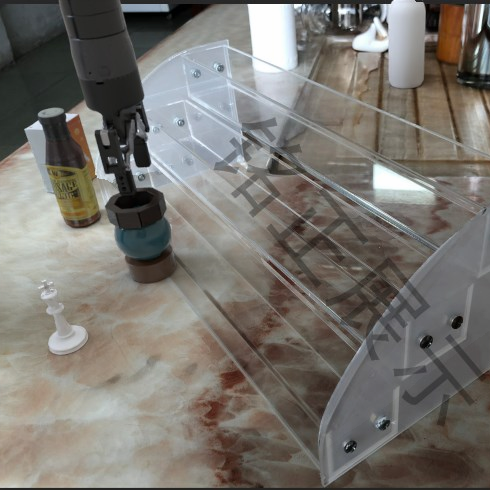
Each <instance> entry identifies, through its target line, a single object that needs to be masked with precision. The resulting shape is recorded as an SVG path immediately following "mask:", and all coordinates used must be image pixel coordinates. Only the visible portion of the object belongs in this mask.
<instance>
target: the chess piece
mask: <svg viewBox="0 0 490 490" xmlns="http://www.w3.org/2000/svg"><path fill="white" fill-rule="evenodd" d="M41 284H42V285H40V286H38V287H37V288H38V291H39V292H40V293H41V294H40V299H41V300H42V301H43V302H44V303H45V304H46V305H47V307H46V314H47V315H49V316H53V319H54V323H55V327H56V328H55V329H56V331H54V332H53V333H52V334H51V335H50V337H49V338H48V342H47V345H48V350H49V351H50V353H52V354H54V355H57V356H59V355H60V356H64V355H67V354H68V355H69V354H72V353H75V352H76V351H78V350H80V349H81V348H82V347H84V346H85V344H86V343H87V341H88V339H89V333H88V331H87V330H86V328H84V327H83V326H81V325H76V324H73V325H72V324H71V325H70V324H69V323H68V321H67V319H66V317H65V315H64V314H63V313H62V312H63V311H64V309H65V305H64V303H62V302H59V291H58V290H57V289H56V288H52V287H54V286H55V285H54V282H53V281H49V282H47V280H46V279H43V280H41Z"/></svg>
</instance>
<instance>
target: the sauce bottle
mask: <svg viewBox="0 0 490 490" xmlns="http://www.w3.org/2000/svg"><path fill="white" fill-rule="evenodd" d="M65 113H66V111H65V109H64V108H61V107H49V108H46V109H43V110H40V111H39V112H38V113H37V119H38V120H39V123H40V124H41V125H42V128H43V131H44V134H45V139H46V158H45V165H46V168H47V172H48V174H49V177H50V181H51V184H52V187H53V190H54V193H53V194H54V195H55V196H54V197H55V199H56V202H57V205H58V209H59V211H60V214H61V216H62V218H63V221H64V223H65V224H66V225H67V226H69V227H73V228H77V227H79V228H80V227H87V226H89V225H92V224H93V223H94V222H96V221H97V220H98V219H99V218H100V215H101V210H100V206H99V205H100V204H99V201H98V197H97V194H96V190H95V187H94V184H93V181H92V180H93V179H92V180H91V176H90V173H89V169H88V166H87V162H86V160H85V157H84V154H83V150H82V148H81V146H80V145H79V144H78V143H77V142H76V141H75V140H74V139H73V138H72V137H71V135H70V134H71V133H70V132H69V128H68V125H67V122H66V114H65Z"/></svg>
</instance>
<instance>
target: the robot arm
mask: <svg viewBox="0 0 490 490" xmlns="http://www.w3.org/2000/svg"><path fill="white" fill-rule="evenodd" d="M58 5H59V9H60V13H61V15H62V19H63V22H64V26H65V29H66V33H67V36H68V41H69V46H70V53H71V59H72V61H73V65H74V68H75V71H76V74H77V78H78V82H79V85H80V89H81V91H82V95H83V100H84V102H85V105H86V107H87V108H88V109H89V110H91V111H93V112H96V113H99V114H100V116H102V117H101V118H102V129H95V130H94V138H95V142H96V146H97V150H98V153H99V157H100V161H101V165H102V168H103V171H104V174H105V175H114V178H115V182H116V187H117V189H118V193H120V195H122V196H133V195H135V194H136V192H137V189H136V188H137V186H136V182H135V178H134V174H133V170H132V167H131V156H133V161H134V164H135V167H137V168H139V169H141V168H142V169H143V168H150V167H151V165H152V159H151V155H150V151H149V147H148V143H147V142H148V140H149V137H148V133H150V129H151V128H150V124H149V121H148V117H147V112H146V109H145V104H144V102H143V101H144V99H145V91H144V87H143V83H142V79H141V75H140V70H139V66H138V62H137V58H136V53H135V49H134V46H133V45H134V44H133V42H132V39H131V37H130V35H129V31H128V28H127V24H126V19H125V15H124V12H123V7H122V3H121V0H58Z"/></svg>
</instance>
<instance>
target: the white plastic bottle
mask: <svg viewBox="0 0 490 490" xmlns="http://www.w3.org/2000/svg"><path fill="white" fill-rule="evenodd" d="M426 14H427V13H426V6H425V3H424V2H416V1H415V0H392V1H391V3H390V5H389V7H388V13H387V22H388V23H387V24H388V25H387V27H388V28H387V29H388V30H387V33H388V35H387V36H388V37H387V39H388V43H387V44H388V45H387V48H388V50H387V51H388V57H387V58H388V83H389V84H390V86H392V87H393V88H396V89H401V90H403V89H404V90H405V89H406V90H407V89H414V88H418V87H420V86H421V85H422V83H423V82H424V79H425V50H426V16H427V15H426Z"/></svg>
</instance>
